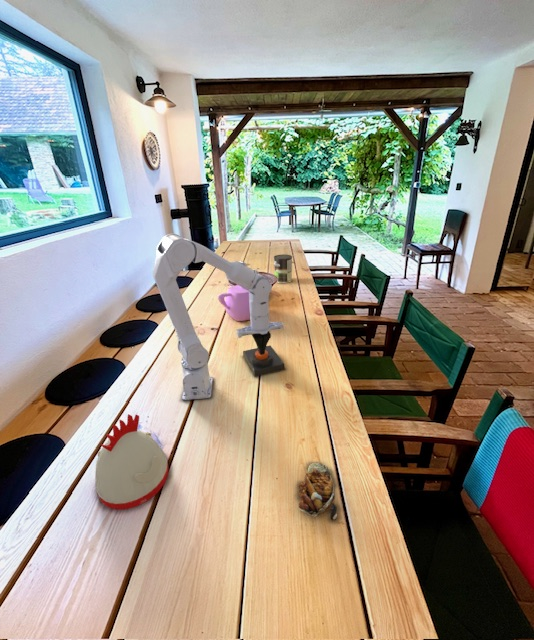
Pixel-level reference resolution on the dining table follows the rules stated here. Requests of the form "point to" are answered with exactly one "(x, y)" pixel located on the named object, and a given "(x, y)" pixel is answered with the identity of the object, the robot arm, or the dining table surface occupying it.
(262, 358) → the button
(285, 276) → the coffee can
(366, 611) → the dining table surface
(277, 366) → the switch
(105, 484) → the kitchen timer
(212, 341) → the dining table surface
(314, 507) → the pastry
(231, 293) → the teapot
